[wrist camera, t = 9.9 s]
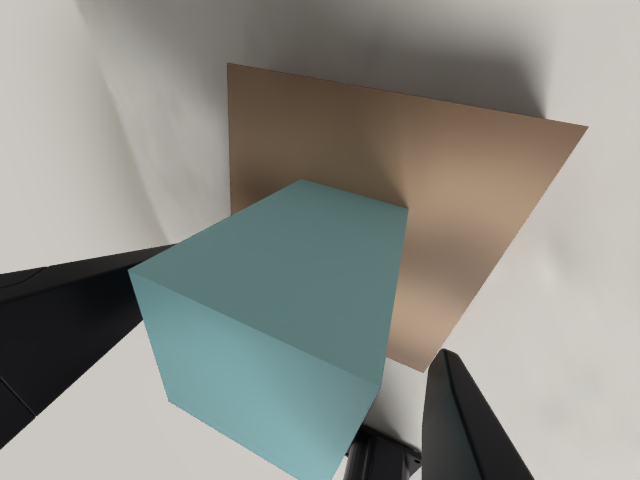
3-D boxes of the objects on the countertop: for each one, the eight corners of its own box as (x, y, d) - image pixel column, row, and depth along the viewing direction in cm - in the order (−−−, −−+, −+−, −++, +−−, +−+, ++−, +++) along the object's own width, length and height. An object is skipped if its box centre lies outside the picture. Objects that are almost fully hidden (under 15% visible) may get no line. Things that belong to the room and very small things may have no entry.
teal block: (376, 296, 13) (323, 494, 6) (290, 263, 14) (168, 401, 7) (408, 209, 10) (380, 387, 4) (301, 178, 11) (127, 269, 5)
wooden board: (423, 333, 16) (423, 373, 14) (257, 267, 19) (233, 290, 17) (546, 123, 10) (589, 126, 7) (265, 72, 13) (227, 62, 10)
